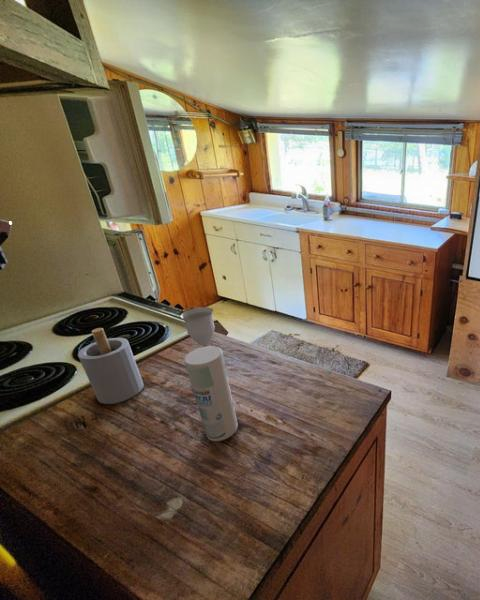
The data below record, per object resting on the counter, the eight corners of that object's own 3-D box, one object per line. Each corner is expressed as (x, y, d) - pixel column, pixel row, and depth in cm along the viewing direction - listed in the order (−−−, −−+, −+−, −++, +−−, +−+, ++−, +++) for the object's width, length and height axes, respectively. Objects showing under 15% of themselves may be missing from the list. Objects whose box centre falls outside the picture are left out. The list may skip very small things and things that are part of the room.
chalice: (221, 359, 95) (208, 304, 87) (229, 370, 91) (217, 313, 83) (193, 369, 90) (177, 312, 83) (200, 381, 86) (184, 322, 78)
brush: (105, 395, 79) (79, 335, 72) (116, 383, 83) (92, 325, 76) (126, 393, 80) (102, 334, 72) (135, 382, 83) (114, 324, 76)
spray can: (245, 423, 74) (229, 349, 65) (222, 445, 68) (202, 367, 60) (222, 416, 76) (203, 343, 67) (198, 437, 70) (175, 360, 61)
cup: (88, 405, 77) (67, 360, 71) (111, 381, 85) (93, 339, 79) (132, 401, 78) (114, 357, 73) (150, 378, 86) (135, 336, 81)
